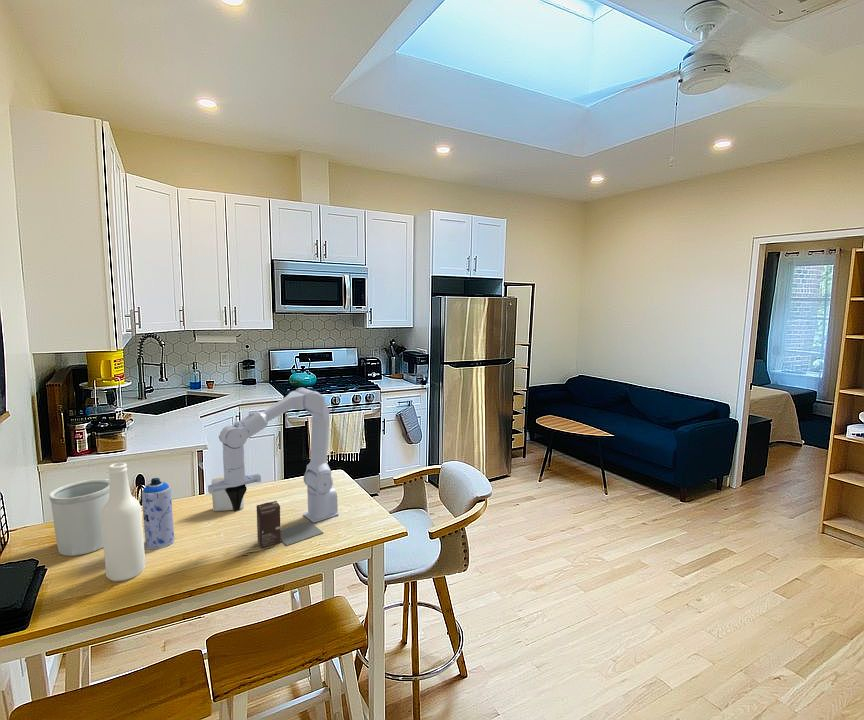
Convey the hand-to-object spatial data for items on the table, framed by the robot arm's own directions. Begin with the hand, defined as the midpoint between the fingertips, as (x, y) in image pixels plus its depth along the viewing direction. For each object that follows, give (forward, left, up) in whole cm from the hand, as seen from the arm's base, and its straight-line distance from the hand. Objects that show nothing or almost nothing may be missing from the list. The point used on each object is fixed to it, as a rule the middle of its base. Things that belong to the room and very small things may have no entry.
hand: (236, 510), depth 139 cm
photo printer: (-5, -26, -11) cm, 29 cm away
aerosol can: (+18, -15, -11) cm, 26 cm away
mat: (-17, +6, -10) cm, 20 cm away
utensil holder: (+35, -28, -11) cm, 46 cm away
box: (-7, +6, -11) cm, 14 cm away
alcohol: (+28, -3, -11) cm, 30 cm away
